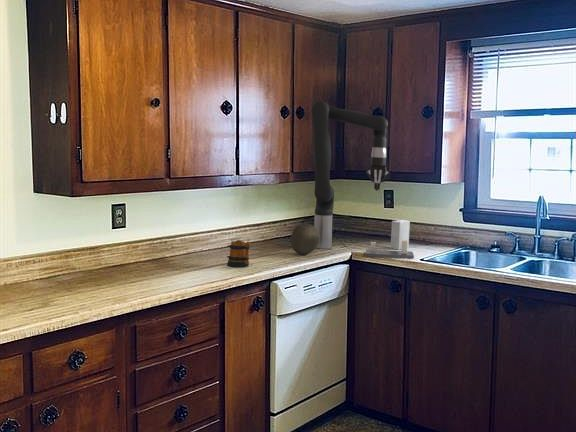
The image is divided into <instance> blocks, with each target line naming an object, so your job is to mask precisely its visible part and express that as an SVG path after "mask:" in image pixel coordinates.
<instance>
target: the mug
mask: <svg viewBox="0 0 576 432" xmlns="http://www.w3.org/2000/svg"><path fill="white" fill-rule="evenodd" d="M250 246H251V242H250V241H246V242H245V241H242V240H241V239H236V240H235V241H234V240H231V242H230V244H229V245H227V247H228V248H230V249H229V255H227V256H226V258H228V260H227V262H226V266H227V267H228V268H234V269H235V268H237V269H238V268H240V269H241V268H248V267H249V264H250V261H249V260H250V257H249V253H250V252H249V251H250Z"/></svg>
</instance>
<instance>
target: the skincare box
mask: <svg viewBox="0 0 576 432" xmlns="http://www.w3.org/2000/svg"><path fill="white" fill-rule="evenodd" d="M410 224H411V221H409V220H406V219H398V220H391V233H390V249H392V248H393V249H392V250H396V249H398V250H397V251H401V250H400V249H402V240H407V249H409V246H410V245H409V244H410V229H411V225H410Z"/></svg>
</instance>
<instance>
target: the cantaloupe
mask: <svg viewBox="0 0 576 432" xmlns="http://www.w3.org/2000/svg"><path fill="white" fill-rule="evenodd" d="M319 240H320V235H319V232H318V230H317V229H316V228H315V227H314V225H312V224H309V223H301V224H299V225H297V226H295V228H294V229H293V231H292V233H291V234H290V245H291V248H292V250H293V251H294V252H295V253H296V254H298V255H301V256H303V255H308V254H311V253H312V252H313V251H314V250H316V249H317V248H316V247H317V246H318V244H319Z"/></svg>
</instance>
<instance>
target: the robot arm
mask: <svg viewBox="0 0 576 432" xmlns="http://www.w3.org/2000/svg"><path fill="white" fill-rule="evenodd" d="M310 107H311V108H310V113H311V119H312V124H313V125H312V126H313V135H312V156H313V167H314V191H313V192H314V196H315V200H316V202H315V207H314V208H315V209H314V222H313V223H314V225H313V226H314V227H315V228H316V229H317V230H318V232H319V235H320V240H319V244H318V246H317V247H316V248H315V249H321V250H322V249H323V250H324V249H325V250H326V249H327V250H328V249H331V248H332V243H333V242H332V239H333V211H334V208H335V207H334V205H335V190H334V187H333V186H332V185H331V180H330V179H331V178H330V172H331V171H330V170H331V165H332V164H331V163H332V144H331V138H330V132H329V120H330V121H331V120H332V121H337V122H342V123H346V124H347V125H353V126H357V127H360V128H361V127H362V128H368V129H371V130H373V132H372V133H373V135H372V148H371V149H372V150H371V157H370V168H369V170H367V171H366V172H365V174H366V176H367V177H368V179H369V180H370V182H371V183H374V184H373V186H374V187H373V189H374V190H375V191H379V190H381V183H384V182H385V181H386V180H387V179H388V178H389V176H390V175H391V173H390V172H389V171H387V165H386V164H387V157H388V156H387V144H388V143H387V140H388V139H387V131H388V127H389V122H388V120H387V118H385V117H384V116H380V115H373V114H368V113H365V112H361V111H357V110H351V109H344V108H343V109H342V108H340V107H339V108H338V107H336V106H332V105H331V104H328V103H327V102H325V100H324V101H323V100H317V101H315V102H313V103H312V105H311V106H310ZM371 174H372V176H374V178H373V177H372V176H371ZM384 175H385V176H384ZM382 176H384V177H383V178H382ZM381 178H382V179H381Z"/></svg>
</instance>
